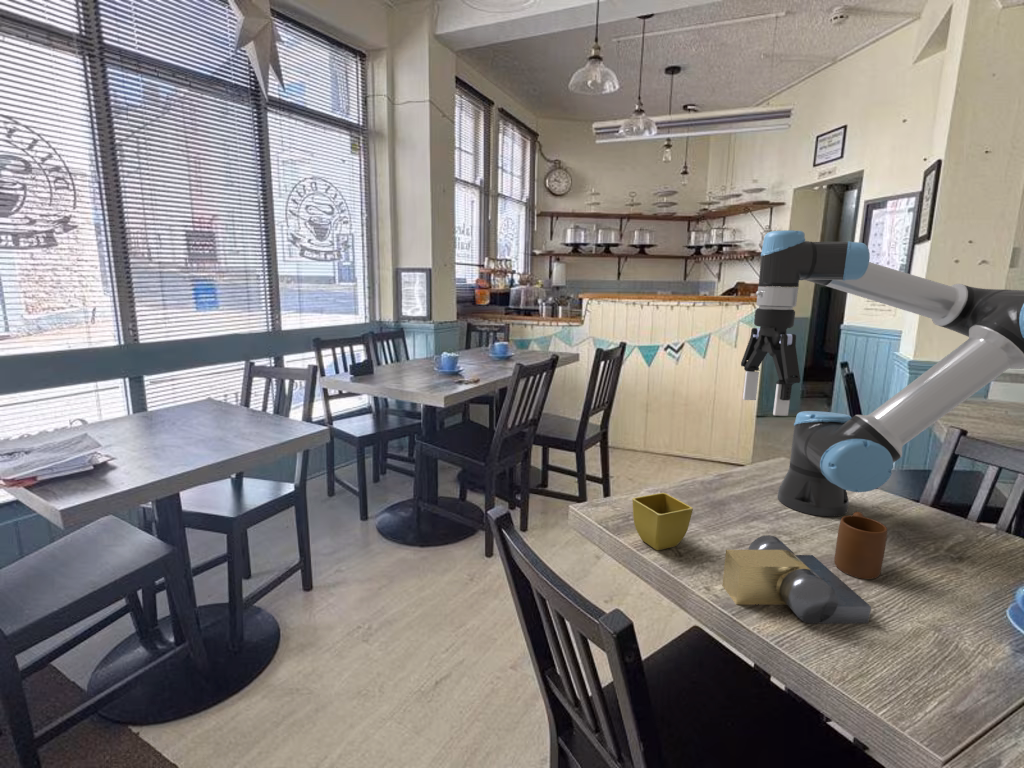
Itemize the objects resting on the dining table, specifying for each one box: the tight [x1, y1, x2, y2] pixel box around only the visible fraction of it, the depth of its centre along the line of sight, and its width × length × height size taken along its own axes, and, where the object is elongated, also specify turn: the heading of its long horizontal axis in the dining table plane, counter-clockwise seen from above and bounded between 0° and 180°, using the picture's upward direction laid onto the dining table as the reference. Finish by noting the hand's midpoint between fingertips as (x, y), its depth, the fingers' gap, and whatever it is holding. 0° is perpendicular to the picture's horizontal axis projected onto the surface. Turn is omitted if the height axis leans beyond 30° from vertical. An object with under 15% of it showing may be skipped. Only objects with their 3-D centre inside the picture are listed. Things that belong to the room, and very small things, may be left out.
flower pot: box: [631, 492, 694, 551], centre depth 109 cm, size 9×9×9 cm
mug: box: [833, 511, 888, 580], centre depth 103 cm, size 12×8×9 cm, turn 154°
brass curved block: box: [722, 549, 810, 606], centre depth 92 cm, size 14×6×7 cm, turn 92°
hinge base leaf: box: [747, 534, 872, 625], centre depth 93 cm, size 12×16×7 cm
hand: (763, 407), depth 116 cm, fingers open, 13 cm apart
